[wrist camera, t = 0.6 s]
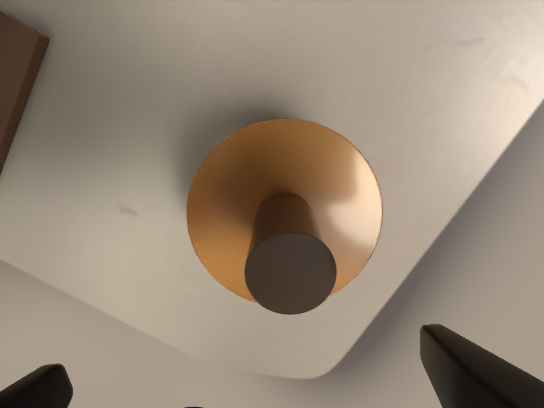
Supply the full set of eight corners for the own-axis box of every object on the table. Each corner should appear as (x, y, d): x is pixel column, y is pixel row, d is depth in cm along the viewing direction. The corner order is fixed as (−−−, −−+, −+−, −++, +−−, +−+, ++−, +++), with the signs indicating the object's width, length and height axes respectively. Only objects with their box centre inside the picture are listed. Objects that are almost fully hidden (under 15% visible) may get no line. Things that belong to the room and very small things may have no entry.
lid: (377, 285, 17) (443, 384, 10) (210, 302, 17) (171, 409, 11) (372, 106, 14) (454, 90, 8) (175, 132, 15) (96, 136, 8)
